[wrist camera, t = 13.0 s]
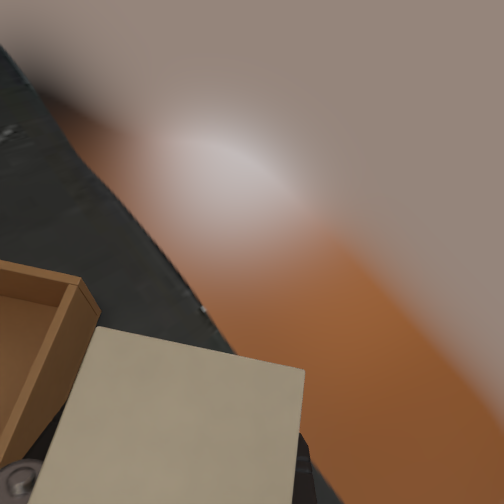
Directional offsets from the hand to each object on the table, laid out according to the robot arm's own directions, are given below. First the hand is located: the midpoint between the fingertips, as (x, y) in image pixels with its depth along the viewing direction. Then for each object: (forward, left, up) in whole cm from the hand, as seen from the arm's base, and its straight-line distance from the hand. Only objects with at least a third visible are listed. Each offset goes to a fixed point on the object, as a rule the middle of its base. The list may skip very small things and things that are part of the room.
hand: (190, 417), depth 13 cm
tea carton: (-1, -2, -4) cm, 5 cm away
